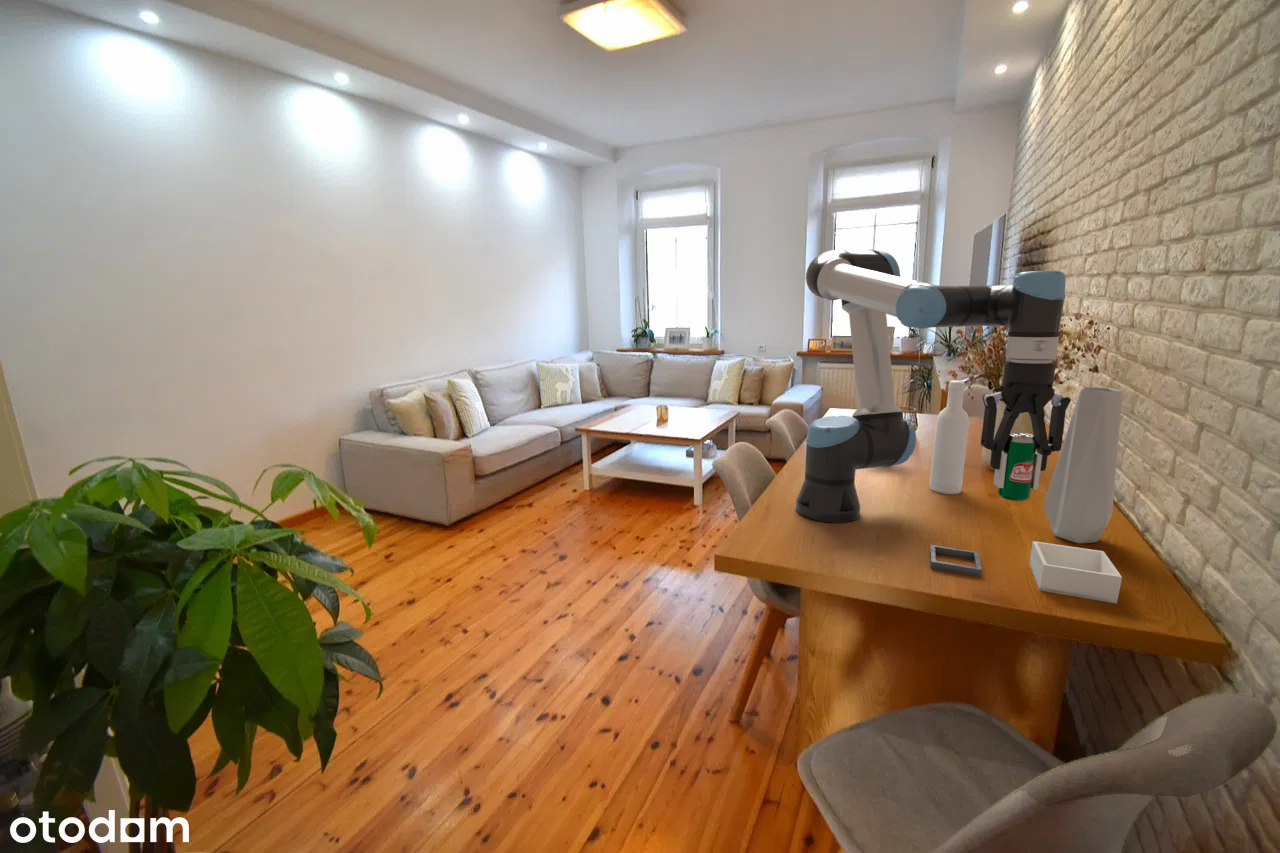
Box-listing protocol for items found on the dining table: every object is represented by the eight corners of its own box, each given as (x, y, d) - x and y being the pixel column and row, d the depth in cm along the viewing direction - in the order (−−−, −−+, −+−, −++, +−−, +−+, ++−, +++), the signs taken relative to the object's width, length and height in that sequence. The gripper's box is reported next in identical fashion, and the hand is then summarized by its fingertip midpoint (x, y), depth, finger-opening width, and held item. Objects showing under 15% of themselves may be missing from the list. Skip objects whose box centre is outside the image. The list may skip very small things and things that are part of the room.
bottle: (923, 488, 158) (934, 381, 152) (937, 483, 163) (948, 378, 156) (953, 496, 152) (966, 384, 146) (966, 490, 157) (980, 381, 150)
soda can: (1010, 502, 104) (1017, 438, 102) (991, 493, 109) (998, 432, 107) (1036, 501, 105) (1044, 437, 102) (1016, 492, 110) (1023, 431, 107)
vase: (1102, 531, 129) (1128, 386, 122) (1115, 551, 119) (1145, 395, 112) (1037, 522, 135) (1059, 383, 127) (1045, 540, 125) (1069, 390, 117)
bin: (1039, 590, 104) (1043, 564, 103) (1029, 564, 114) (1032, 541, 113) (1116, 603, 99) (1122, 577, 98) (1099, 575, 109) (1103, 551, 108)
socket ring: (930, 568, 113) (931, 561, 112) (929, 551, 120) (930, 544, 120) (981, 577, 109) (982, 570, 109) (977, 558, 117) (977, 551, 116)
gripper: (981, 362, 100) (968, 490, 105) (1099, 362, 96) (1080, 495, 101) (967, 359, 107) (955, 478, 112) (1076, 359, 104) (1060, 482, 108)
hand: (1015, 486), depth 107 cm, fingers closed on soda can, 5 cm apart
